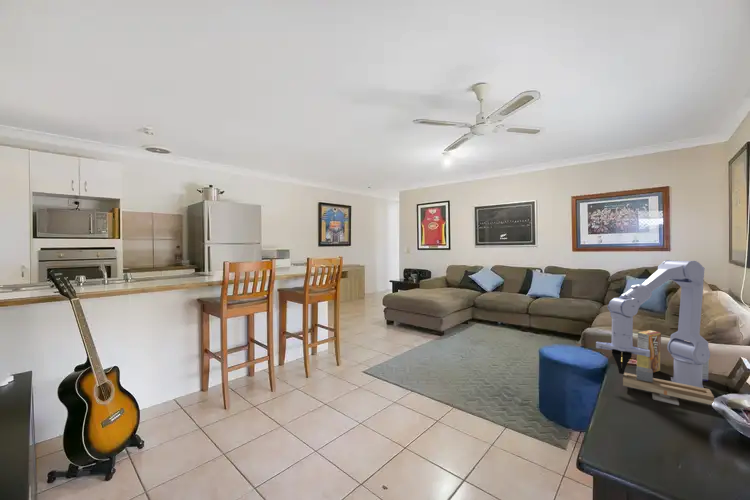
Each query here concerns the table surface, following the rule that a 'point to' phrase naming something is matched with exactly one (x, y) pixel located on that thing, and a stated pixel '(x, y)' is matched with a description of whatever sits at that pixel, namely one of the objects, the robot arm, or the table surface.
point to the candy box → (652, 343)
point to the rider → (644, 374)
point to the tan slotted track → (669, 390)
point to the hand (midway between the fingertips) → (621, 373)
